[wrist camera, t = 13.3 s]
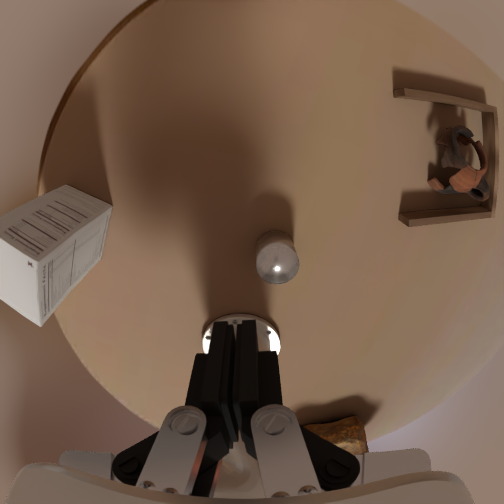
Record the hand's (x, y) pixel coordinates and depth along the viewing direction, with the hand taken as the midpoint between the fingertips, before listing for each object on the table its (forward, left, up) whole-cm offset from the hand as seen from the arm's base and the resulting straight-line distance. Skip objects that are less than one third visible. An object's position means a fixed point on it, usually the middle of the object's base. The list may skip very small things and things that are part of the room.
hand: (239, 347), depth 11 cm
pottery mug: (+3, -30, -25) cm, 40 cm away
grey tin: (-7, -3, -25) cm, 26 cm away
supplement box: (+1, +24, -25) cm, 35 cm away
